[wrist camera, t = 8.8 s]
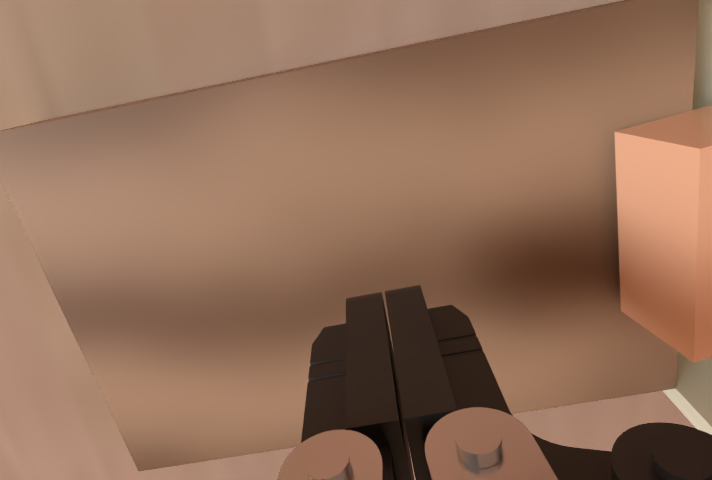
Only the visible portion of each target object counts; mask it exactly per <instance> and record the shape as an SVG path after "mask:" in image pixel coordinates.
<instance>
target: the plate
mask: <svg viewBox="0 0 712 480" xmlns="http://www.w3.org/2000/svg"><path fill="white" fill-rule="evenodd" d="M698 8H699V0H623V1H618V2H614V3H609V4H604V5H599V6H594V7H589V8H585V9H580V10H575V11H570V12H565V13H560V14H556V15H551V16H546V17H541V18H536V19H532V20H527V21H522V22H517V23H512V24H507V25H503V26H498V27H493V28H488V29H483V30H478V31H474V32H469V33H464V34H459V35H454V36H449V37H445V38H440V39H435V40H430V41H425V42H420V43H416V44H411V45H406V46H401V47H396V48H391V49H387V50H382V51H377V52H372V53H367V54H363V55H358V56H353V57H348V58H343V59H338V60H334V61H329V62H324V63H319V64H314V65H309V66H305V67H300V68H295V69H290V70H285V71H280V72H276V73H271V74H266V75H261V76H256V77H251V78H247V79H242V80H237V81H232V82H227V83H222V84H218V85H213V86H208V87H203V88H198V89H194V90H189V91H184V92H179V93H174V94H169V95H165V96H160V97H155V98H150V99H145V100H140V101H136V102H131V103H126V104H121V105H116V106H111V107H107V108H102V109H97V110H92V111H87V112H82V113H78V114H73V115H68V116H63V117H58V118H53V119H49V120H44V121H39V122H35V123H31V124H27V125H22V126H18V127H14V128H10V129H6V130H2V131H0V181H1V183H2V185H3V187H4V189H5V192H6V194H7V196H8V198H9V200H10V202H11V204H12V206H13V208H14V210H15V213H16V215H17V217H18V219H19V221H20V223H21V225H22V227H23V229H24V231H25V234H26V236H27V238H28V240H29V242H30V244H31V246H32V248H33V250H34V252H35V255H36V257H37V259H38V261H39V263H40V265H41V267H42V269H43V271H44V273H45V276H46V278H47V280H48V282H49V284H50V286H51V288H52V290H53V292H54V294H55V297H56V299H57V301H58V303H59V305H60V307H61V309H62V311H63V313H64V315H65V318H66V320H67V322H68V324H69V326H70V328H71V330H72V332H73V334H74V336H75V339H76V341H77V343H78V345H79V347H80V349H81V351H82V353H83V355H84V357H85V360H86V362H87V364H88V366H89V368H90V370H91V372H92V374H93V376H94V378H95V381H96V383H97V385H98V387H99V389H100V391H101V393H102V395H103V397H104V399H105V402H106V404H107V406H108V408H109V410H110V412H111V414H112V416H113V418H114V420H115V423H116V425H117V427H118V429H119V431H120V433H121V435H122V437H123V439H124V441H125V444H126V446H127V448H128V450H129V452H130V454H131V456H132V458H133V460H134V462H135V465H136V467H137V469H138V471H144V470H150V469H156V468H163V467H169V466H176V465H182V464H189V463H195V462H202V461H208V460H215V459H221V458H228V457H234V456H241V455H247V454H254V453H260V452H267V451H273V450H280V449H286V448H293V447H297V446H298V445H300V444H301V438H302V429H303V420H304V411H305V402H306V393H307V384H308V382H309V380H308V375H309V367H310V358H311V349H312V344H313V342H314V341H315V339H316V338H317V337H318V335H319V334H320V332H321V331H322V329H323V328H324V327H328V326H334V325H340V324H345V323H346V298H350V297H356V296H362V295H367V294H373V293H378V292H382V296H383V300H384V305H385V311H386V316H387V321H388V326H389V331H390V324H389V317H388V311H387V304H386V297H385V291H389V290H394V289H400V288H405V287H411V286H417V285H420V286H421V289H422V292H423V296H424V299H425V302H426V306H427V309H429V308H435V307H441V306H446V305H453V306H454V307H456V308H457V309H458V310H460V311H461V312H463V313H464V314H465V315H467V316H468V317H469V319H470V321H471V324H472V326H473V328H474V330H475V333H476V336H477V337H478V340H479V342H480V344H481V346H482V349H483V352H484V353H485V356H486V358H487V360H488V362H489V365H490V367H491V369H492V372H493V374H494V376H495V378H496V381H497V383H498V385H499V388H500V390H501V392H502V394H503V397H504V399H505V401H506V404H507V406H508V408H509V410H510V412H511V414H514V413H520V412H527V411H533V410H540V409H546V408H552V407H559V406H565V405H572V404H578V403H585V402H591V401H598V400H604V399H611V398H617V397H624V396H630V395H637V394H643V393H650V392H656V391H663V390H669V389H676V374H677V358H678V351H676V350H675V349H674V348H672V347H671V346H669V345H668V344H667V343H665V342H664V341H662V340H661V339H660V338H658V337H657V336H655V335H654V334H653V333H651V332H650V331H648V330H647V329H646V328H644V327H643V326H641V325H640V324H639V323H637V322H636V321H634V320H633V319H632V318H630V317H629V316H627V315H626V314H625V313H623V312H622V311H621V300H620V272H619V244H618V215H617V187H616V159H615V131H619V130H622V129H626V128H630V127H633V126H637V125H640V124H644V123H648V122H651V121H655V120H659V119H662V118H666V117H669V116H673V115H677V114H680V113H684V112H687V111H691V110H692V108H693V91H694V74H695V58H696V41H697V24H698ZM390 336H391V331H390ZM391 341H392V337H391ZM392 346H393V344H392Z"/></svg>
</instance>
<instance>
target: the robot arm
mask: <svg viewBox="0 0 712 480" xmlns="http://www.w3.org/2000/svg"><path fill="white" fill-rule="evenodd" d="M385 297H386V304H387V311H388V317H389V324H390V331H391V336H390V331H389V326H388V321H387V316H386V311H385V305H384V300H383V296H382V292H378V293H373V294H367V295H362V296H356V297H350V298H346V323H345V324H340V325H334V326H328V327H324V328H323V329H322V331H321V332H320V334H319V335H318V337H317V338H316V339H315V341H314V342H313V344H312V349H311V358H310V367H309V375H308V380H309V382H308V384H307V393H306V402H305V411H304V420H303V429H302V438H301V444H300V445H298V446H297V447H296V448H295V449H294V450H293V451H292V452H291V453H290V454H289V455H288V457H287V458H286V459H285V461H284V463H283V465H282V467H281V469H280V472H279V475H278V479H277V480H414V475H413V469H412V462H413V467H414V472H415V477H416V480H712V435H711V434H709V433H706V432H704V431H701V430H698V429H695V428H692V427H688V426H684V425H679V424H673V423H647V424H642V425H638V426H635V427H632V428H630V429H628V430H627V431H625V432H623V433H622V434H621V435H620V436H619V437H618V438H617V440H616V442H615V443H614V445H613V449H612V452H610V451H600V450H591V449H582V448H573V447H567V446H561V445H558V444H554V443H551V442H548V441H546V440H543V439H541V438H539V437H537V436H535V435H533V434H532V433H531V432H530V431H529V430H528V428H527V427H526V426H525V425H524V424H523V423H522V422H521V421H519V420H518V419H516V418H515V417H513V416H512V414H511V412H510V410H509V408H508V406H507V404H506V401H505V399H504V397H503V394H502V392H501V390H500V388H499V385H498V383H497V381H496V378H495V376H494V374H493V372H492V369H491V367H490V365H489V362H488V360H487V358H486V356H485V353H484V352H483V349H482V346H481V344H480V342H479V340H478V337H477V336H476V333H475V330H474V328H473V326H472V324H471V321H470V319H469V317H468V316H467V315H465V314H464V313H463V312H461V311H460V310H458V309H457V308H456V307H454V306H453V305H446V306H441V307H435V308H429V309H427V306H426V302H425V299H424V296H423V292H422V289H421V286H420V285H417V286H411V287H405V288H400V289H394V290H389V291H385ZM391 337H392V341H391ZM392 344H393V346H392ZM408 442H409V443H408ZM409 447H410V449H409ZM410 452H411V456H410ZM411 457H412V462H411Z"/></svg>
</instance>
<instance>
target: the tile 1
mask: <svg viewBox="0 0 712 480" xmlns="http://www.w3.org/2000/svg"><path fill="white" fill-rule="evenodd" d="M615 159H616V187H617V215H618V244H619V272H620V300H621V311H622V312H623V313H625V314H626V315H627V316H629V317H630V318H632V319H633V320H634V321H636V322H637V323H639V324H640V325H641V326H643V327H644V328H646V329H647V330H648V331H650V332H651V333H653V334H654V335H655V336H657V337H658V338H660V339H661V340H662V341H664V342H665V343H667V344H668V345H669V346H671V347H672V348H674V349H675V350H676V351H678V352H679V353H681V354H682V355H683V356H685V357H686V358H688V359H689V360H690V361H692V362H693V363H695V362H698V361H701V360H705V359H708V358H711V357H712V105H709V106H706V107H702V108H698V109H695V110H691V111H687V112H684V113H680V114H677V115H673V116H669V117H666V118H662V119H659V120H655V121H651V122H648V123H644V124H640V125H637V126H633V127H630V128H626V129H622V130H619V131H615Z"/></svg>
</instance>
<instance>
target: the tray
mask: <svg viewBox="0 0 712 480" xmlns="http://www.w3.org/2000/svg"><path fill="white" fill-rule="evenodd" d="M709 105H712V0H699V8H698V24H697V41H696V58H695V74H694V91H693V108H692V110H695V109H698V108H702V107H706V106H709ZM663 392H664V393H665V394H666V395H667V396H668V397H669V398H670V400H671V401H672V402H673V403H674V404H675V405H676V406H677V407H678V408H679V410H680V411H681V412H682V413H683V414H684V415H685V416H686V417H687V419H688V420H689V421H690V422H691V423H692V424H693V425H694V426H695V427H696V429H698V430H701V431H704V432H706V433H709V434H711V435H712V357H711V358H708V359H705V360H701V361H698V362H695V363H693V362H692V361H690V360H689V359H688V358H686V357H685V356H683V355H682V354H681V353H679V352H678V358H677V374H676V389H669V390H663Z"/></svg>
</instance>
